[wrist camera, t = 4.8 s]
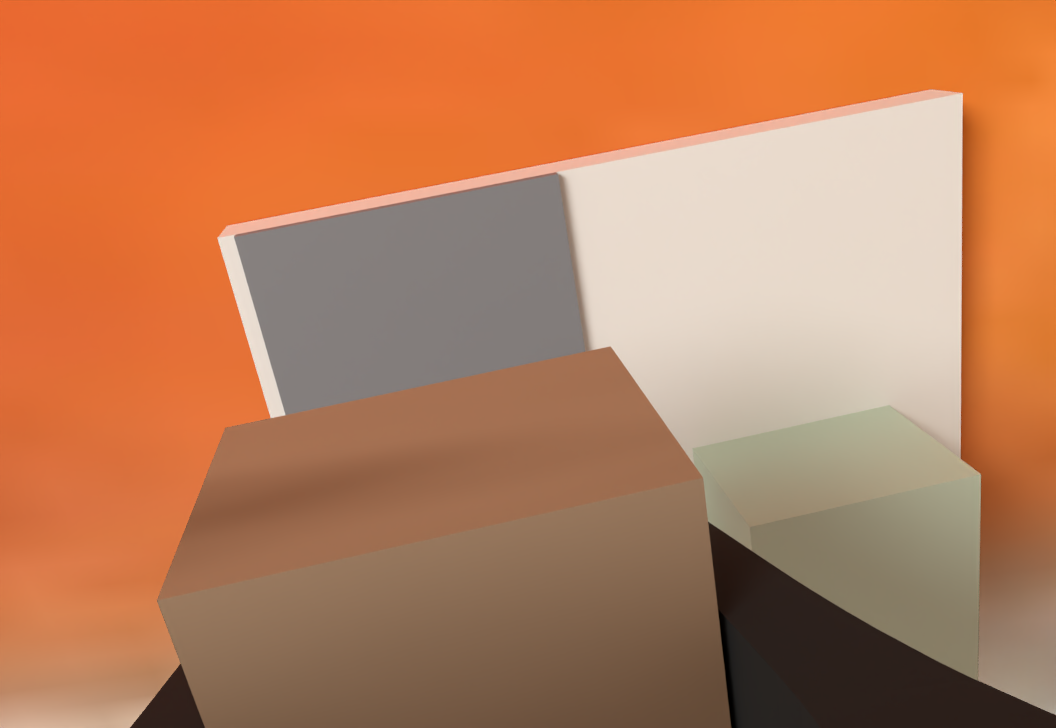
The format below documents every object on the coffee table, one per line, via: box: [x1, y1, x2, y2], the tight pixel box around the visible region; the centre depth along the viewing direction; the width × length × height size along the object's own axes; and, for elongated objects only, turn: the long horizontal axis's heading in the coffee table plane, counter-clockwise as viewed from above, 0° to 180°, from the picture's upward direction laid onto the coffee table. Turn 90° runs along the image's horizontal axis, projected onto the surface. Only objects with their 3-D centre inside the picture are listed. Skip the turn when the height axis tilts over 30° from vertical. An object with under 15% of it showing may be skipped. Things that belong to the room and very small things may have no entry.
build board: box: [218, 89, 963, 464], centre depth 19 cm, size 18×13×1 cm
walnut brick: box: [157, 346, 731, 728], centre depth 9 cm, size 6×4×3 cm
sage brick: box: [692, 405, 981, 681], centre depth 18 cm, size 6×4×3 cm
